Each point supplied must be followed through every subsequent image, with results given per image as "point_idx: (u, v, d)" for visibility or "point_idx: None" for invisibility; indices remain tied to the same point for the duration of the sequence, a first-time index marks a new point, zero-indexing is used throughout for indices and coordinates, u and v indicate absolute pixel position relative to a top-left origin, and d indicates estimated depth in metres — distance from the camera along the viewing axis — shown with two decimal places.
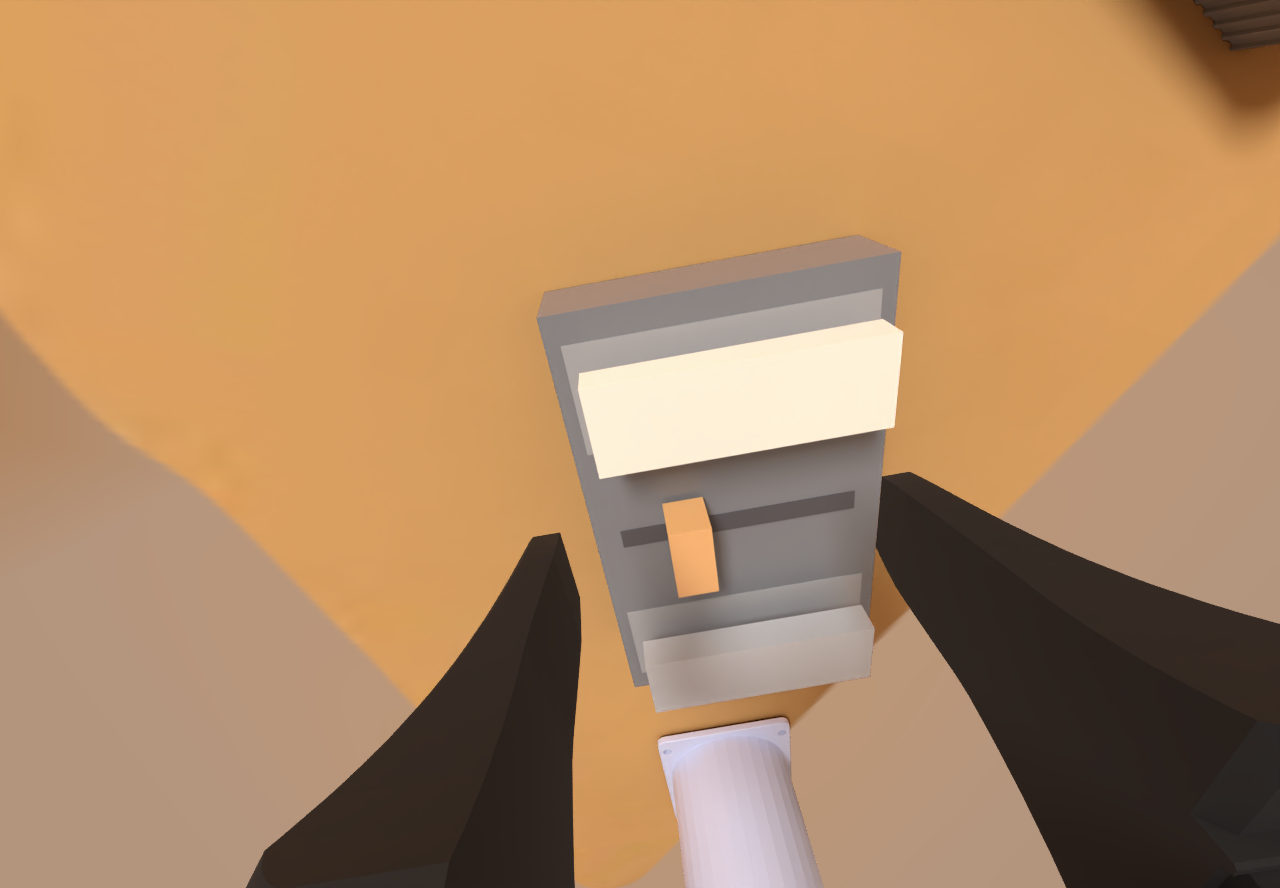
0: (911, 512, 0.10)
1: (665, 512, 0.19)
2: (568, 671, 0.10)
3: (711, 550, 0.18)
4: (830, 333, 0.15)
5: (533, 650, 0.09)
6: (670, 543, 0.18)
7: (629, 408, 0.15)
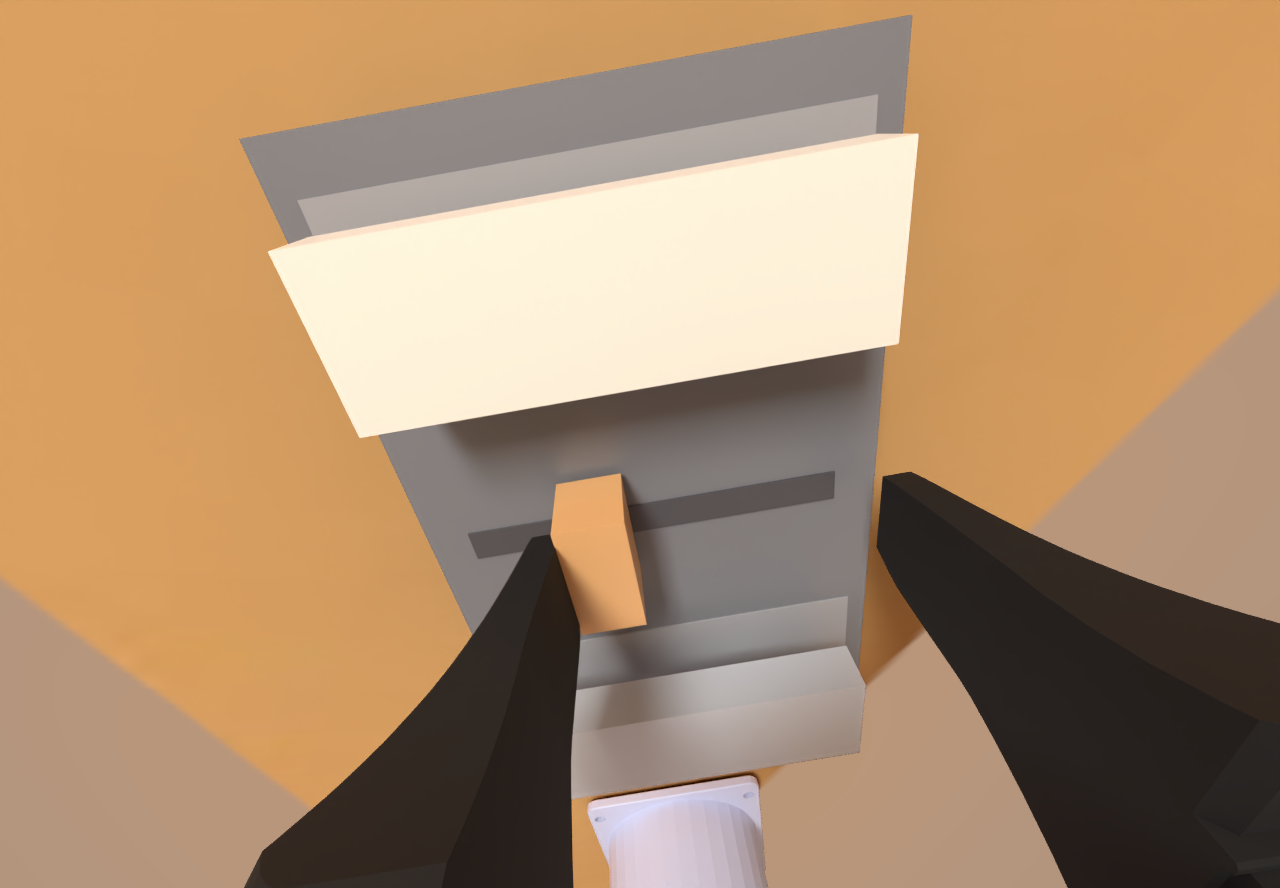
0: (912, 512, 0.10)
1: (557, 497, 0.12)
2: (567, 671, 0.10)
3: (627, 560, 0.11)
4: (777, 154, 0.08)
5: (532, 651, 0.09)
6: (556, 548, 0.11)
7: (383, 294, 0.08)
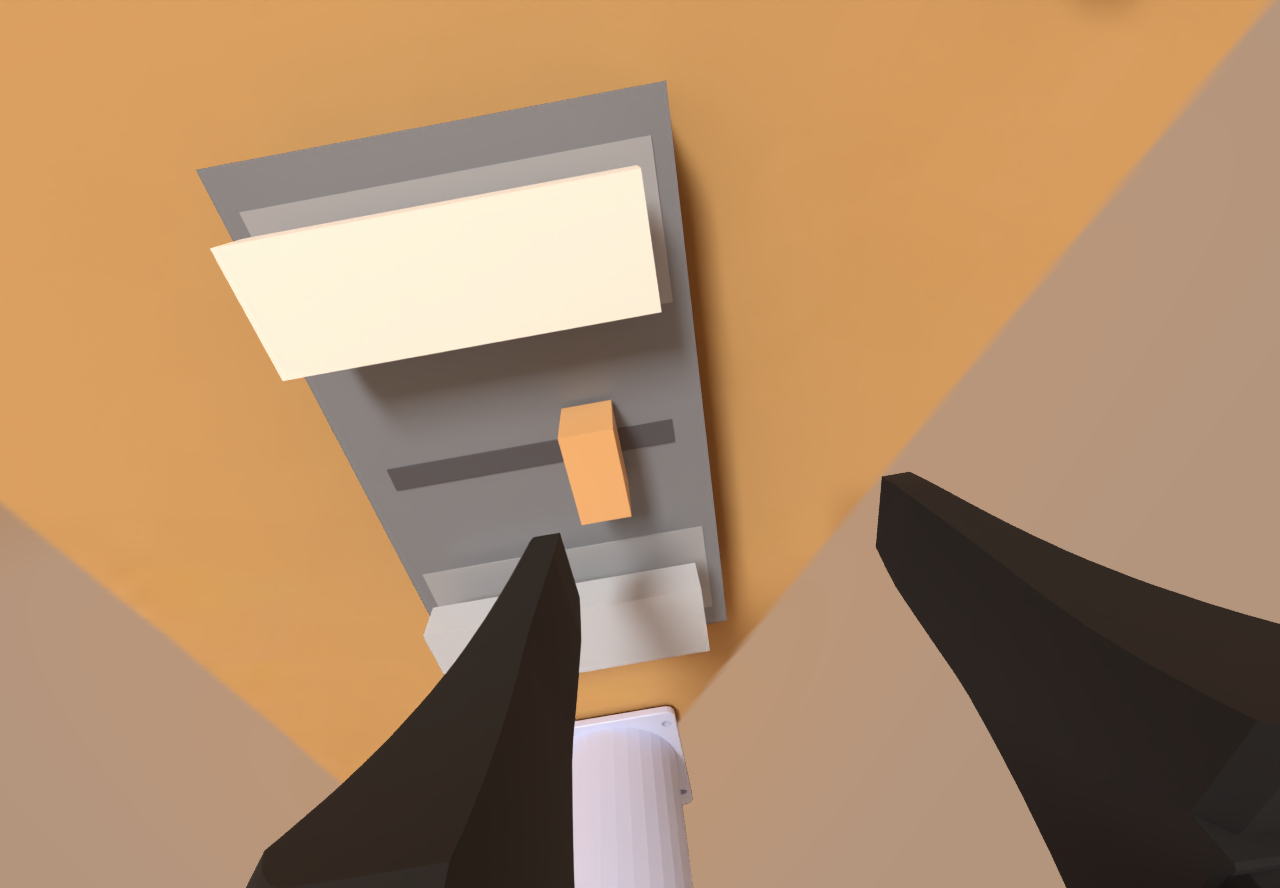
0: (911, 512, 0.10)
1: (562, 416, 0.15)
2: (568, 671, 0.10)
3: (615, 460, 0.15)
4: (561, 179, 0.12)
5: (533, 651, 0.09)
6: (562, 449, 0.14)
7: (290, 277, 0.11)
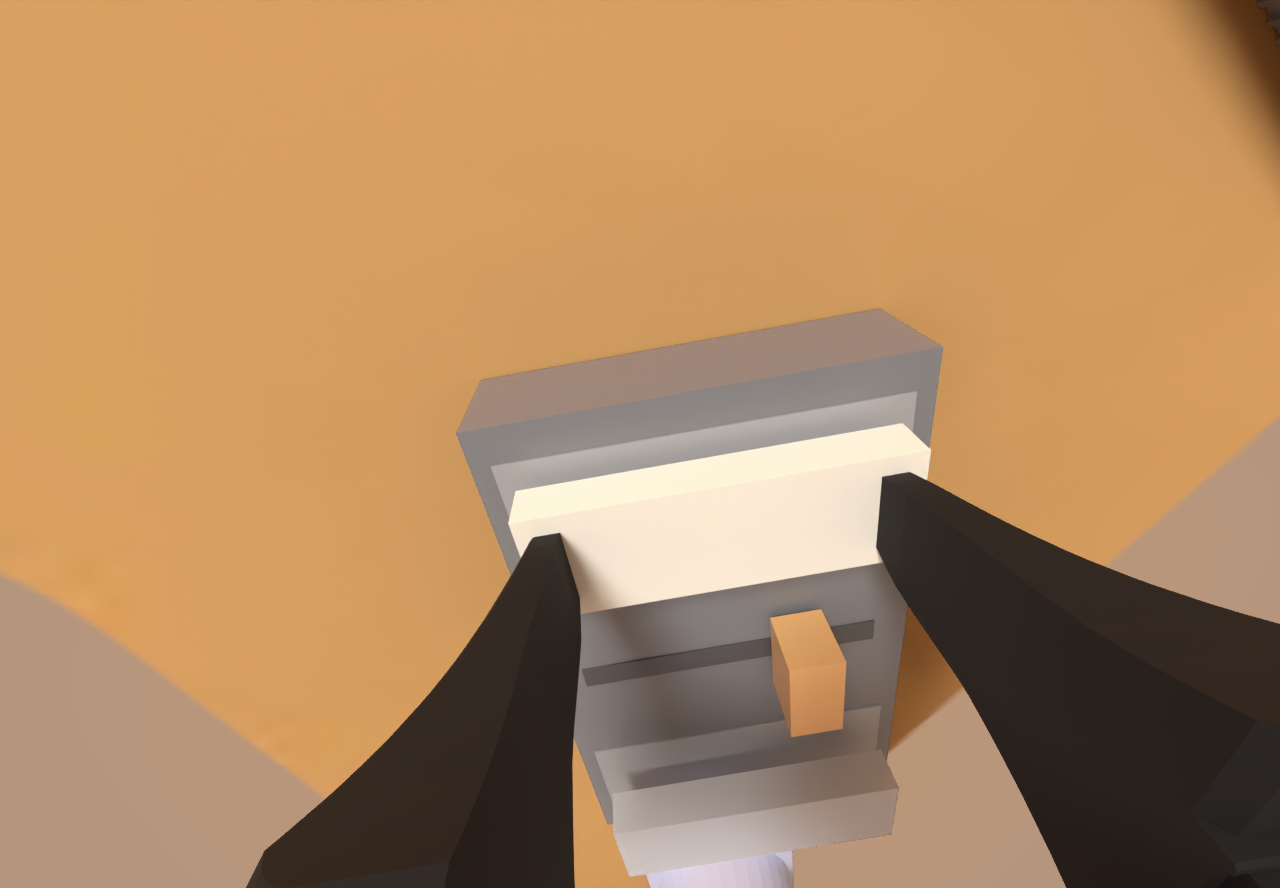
0: (911, 512, 0.10)
1: (777, 632, 0.15)
2: (568, 671, 0.10)
3: (841, 686, 0.14)
4: (836, 444, 0.12)
5: (533, 650, 0.09)
6: (791, 679, 0.14)
7: (576, 542, 0.12)
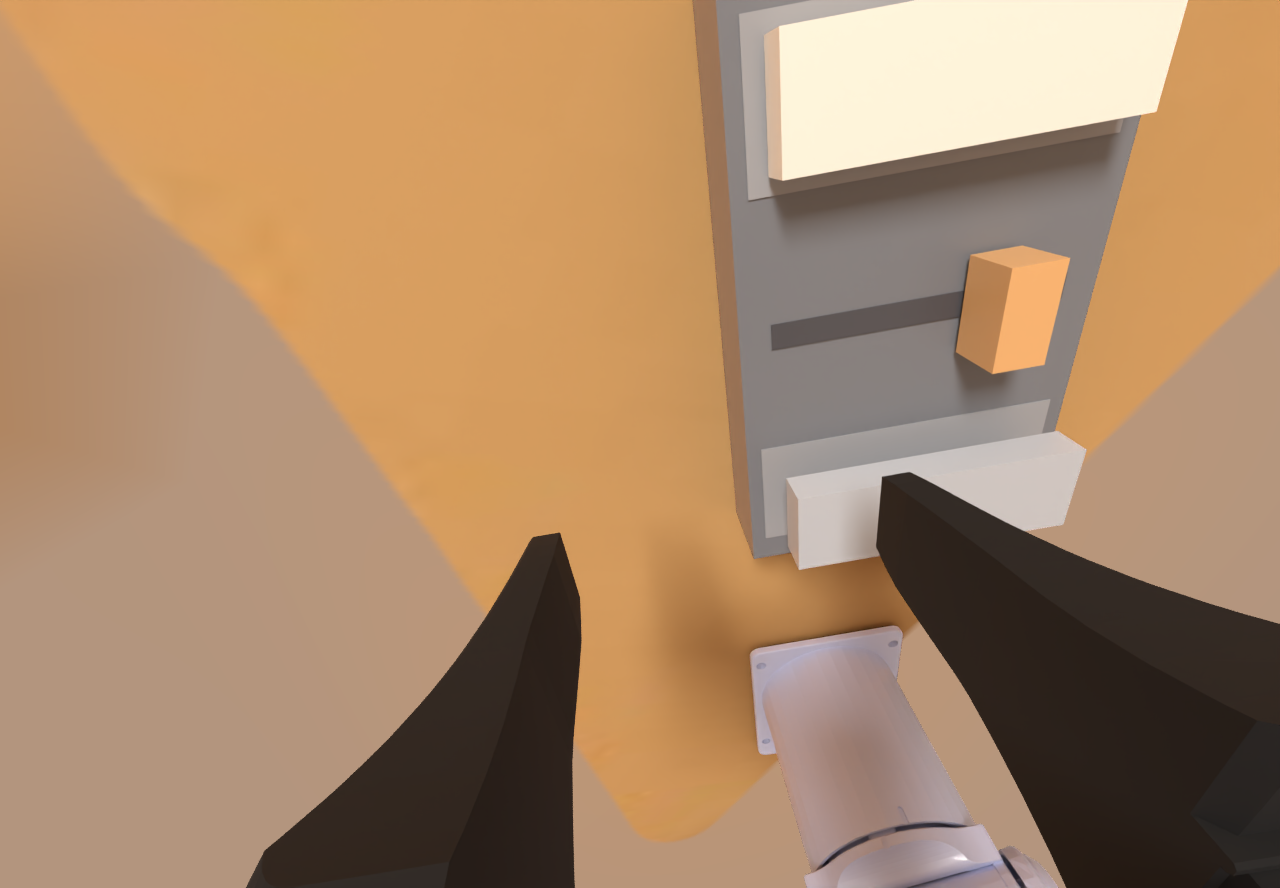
0: (911, 512, 0.10)
1: (984, 258, 0.15)
2: (568, 671, 0.10)
3: (1057, 296, 0.14)
4: None
5: (534, 651, 0.09)
6: (1011, 282, 0.14)
7: (838, 61, 0.12)
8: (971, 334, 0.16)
